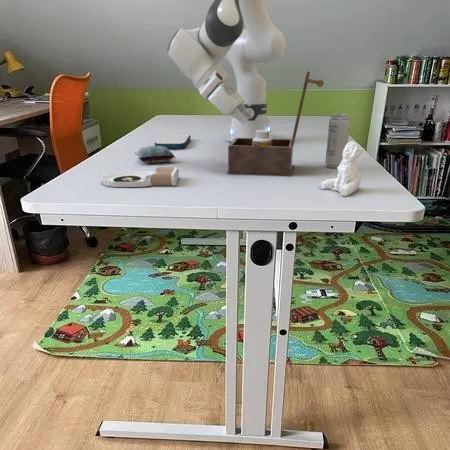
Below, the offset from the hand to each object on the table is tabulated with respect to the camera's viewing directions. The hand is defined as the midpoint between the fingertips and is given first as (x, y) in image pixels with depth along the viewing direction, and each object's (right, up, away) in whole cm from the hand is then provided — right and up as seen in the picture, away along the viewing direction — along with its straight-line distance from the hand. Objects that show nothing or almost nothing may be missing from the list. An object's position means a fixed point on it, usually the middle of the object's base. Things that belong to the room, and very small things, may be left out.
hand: (247, 120), depth 131 cm
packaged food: (-29, -8, +16) cm, 34 cm away
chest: (+4, -13, +6) cm, 14 cm away
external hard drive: (-27, +8, +44) cm, 52 cm away
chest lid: (+14, +2, -4) cm, 15 cm away
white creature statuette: (+24, -23, -15) cm, 37 cm away
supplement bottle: (+4, -12, +5) cm, 14 cm away
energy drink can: (+27, -11, +9) cm, 31 cm away
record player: (-30, -19, -7) cm, 36 cm away
